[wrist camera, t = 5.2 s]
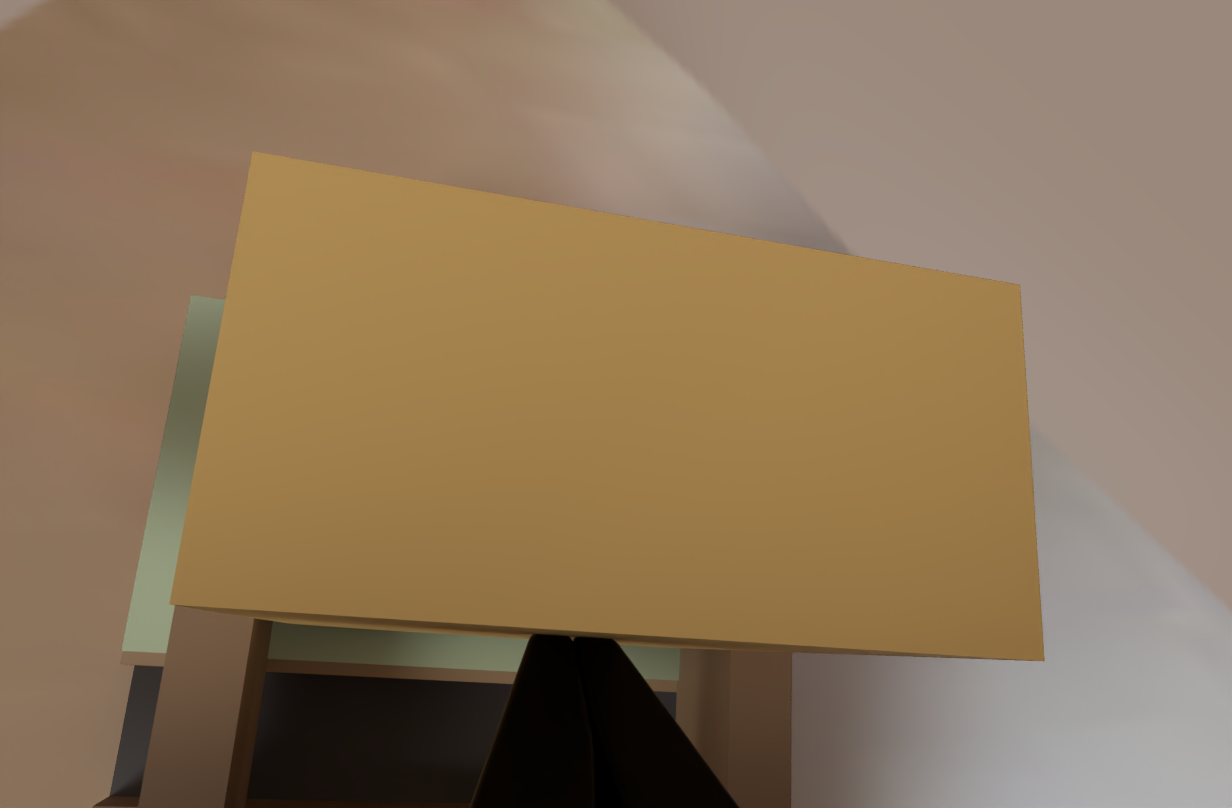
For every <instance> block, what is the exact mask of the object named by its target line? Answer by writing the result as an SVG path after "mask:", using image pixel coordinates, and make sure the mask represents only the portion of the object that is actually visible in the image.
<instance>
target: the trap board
mask: <svg viewBox="0 0 1232 808" xmlns="http://www.w3.org/2000/svg"><path fill="white" fill-rule="evenodd" d="M224 305H225V300H223V299H216V298H209V297H202V296H194V295H191V298H190V303H189V308H188V313H187V318H186V323H185V329H184V334H183V339H182V344H181V349H180V354H179V359H178V364H177V369H176V375H175V380H174V385H173V390H172V395H171V400H170V405H169V410H168V415H167V421H166V426H165V431H164V436H163V441H162V446H161V451H160V456H159V461H158V467H157V472H156V477H155V482H154V487H153V492H152V497H151V502H150V507H149V512H148V518H147V523H146V528H145V533H144V538H143V543H142V548H141V553H140V558H139V564H138V569H137V574H136V579H135V584H134V589H133V594H132V599H131V604H130V610H129V615H128V620H127V625H126V630H125V635H124V640H123V645H122V650H121V651H123V654H122V659H121V664H124V665H135V667H134V672H133V677H132V682H131V687H130V693H129V698H128V703H127V708H126V714H125V719H124V724H123V729H122V735H121V740H120V745H119V750H118V755H117V761H116V766H115V771H114V776H113V782H112V787H111V792H110V796H109V797H108V798H106V799H104V800H102V801H101V802H99V803H97V804H96V805H94V806H93V808H469V805H470V802H471V800H472V797H473V794H474V791H475V788H476V786H477V783H478V780H479V777H480V774H481V772H482V769H483V766H484V763H485V761H486V758H487V755H488V752H489V749H490V747H491V744H492V741H493V738H494V735H495V733H496V730H497V727H498V724H499V721H500V719H501V716H502V713H503V710H504V707H505V705H506V702H507V699H508V696H509V693H510V691H511V688H512V685H513V682H514V679H515V677H516V674H517V671H518V668H519V665H520V663H521V660H522V657H523V654H524V651H525V649H526V646H527V643H528V641H529V639H517V638H501V637H485V636H469V635H453V634H437V633H420V632H404V631H388V630H372V629H356V628H340V627H323V626H307V625H295V624H288V623H282V622H276V621H270V620H263V619H257V618H251V617H245V616H238V615H232V614H226V613H219V612H213V611H207V610H201V609H194V608H188V607H182V606H175V605H169V603H170V597H171V592H172V587H173V581H174V576H175V570H176V565H177V559H178V554H179V549H180V543H181V538H182V532H183V527H184V522H185V516H186V511H187V505H188V500H189V494H190V489H191V484H192V478H193V473H194V467H195V462H196V457H197V451H198V446H199V440H200V435H201V429H202V424H203V419H204V413H205V408H206V402H207V397H208V392H209V386H210V381H211V375H212V370H213V364H214V359H215V354H216V348H217V343H218V337H219V332H220V327H221V321H222V316H223V310H224ZM620 647H621V648H622V649H623V651H624V652H625V653H626V655H627V656H628V657H629V659H630V660H631V661H632V663H633V664H634V665H635V667H636V668H637V669H638V671H639V672H640V674H641V675H642V676H643V678H644V679H645V680H646V682H647V683H648V684H649V686H650V687H651V688H652V690H653V691H654V692H655V694H656V695H657V696H658V698H659V699H660V700H661V702H662V703H663V704H664V706H665V707H666V708H667V710H668V711H669V713H670V714H671V715H672V717H673V718H674V719H675V721H676V722H677V723H678V725H679V726H680V727H681V729H682V730H683V731H684V733H685V734H686V735H687V737H688V738H689V739H690V741H691V742H692V743H693V745H694V746H695V748H696V749H697V750H698V752H699V753H700V754H701V756H702V757H703V758H704V760H705V761H706V762H707V764H708V765H709V766H710V768H711V769H712V770H713V772H714V773H715V774H716V776H717V777H718V778H719V780H720V781H721V782H722V784H723V785H724V787H725V788H726V789H727V791H728V792H729V793H730V795H731V796H732V797H733V799H734V800H735V801H736V803H737V804H738V805H739V807H740V808H791V701H792V652H773V651H745V650H717V649H689V648H663V647H647V646H631V645H620Z"/></svg>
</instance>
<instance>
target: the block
mask: <svg viewBox="0 0 1232 808" xmlns="http://www.w3.org/2000/svg"><path fill="white" fill-rule="evenodd" d="M169 605H175V606H182V607H188V608H194V609H201V610H207V611H213V612H219V613H226V614H232V615H238V616H245V617H251V618H257V619H263V620H270V621H276V622H282V623H288V624H295V625H307V626H323V627H340V628H356V629H372V630H388V631H404V632H420V633H437V634H453V635H469V636H485V637H501V638H517V639H529V638H530V637H531V636H532V635H533V634H542V635H558V636H569V637H570V638H571V639H572V640H573V639H574V638H576V637H589V638H605V639H613V640H615V641H616V642H617V643H618V644H619V645H631V646H647V647H663V648H689V649H717V650H745V651H773V652H801V653H829V654H857V655H885V656H913V657H941V658H969V659H997V660H1025V661H1044V645H1043V630H1042V615H1041V599H1040V584H1039V569H1038V553H1037V538H1036V523H1035V507H1034V492H1033V477H1032V461H1031V446H1030V431H1029V417H1028V400H1027V385H1026V370H1025V355H1024V339H1023V324H1022V309H1021V295H1020V285H1018V284H1012V283H1007V282H1001V281H995V280H990V279H984V278H978V277H972V276H966V275H961V274H955V273H949V272H944V271H937V270H931V269H926V268H920V267H915V266H909V265H903V264H897V263H892V262H886V261H880V260H874V259H869V258H863V257H857V256H851V255H846V254H840V253H834V252H828V251H823V250H817V249H811V248H805V247H800V246H794V245H788V244H782V243H777V242H771V241H765V240H759V239H754V238H748V237H742V236H736V235H731V234H725V233H719V232H713V231H708V230H702V229H696V228H690V227H685V226H679V225H673V224H667V223H662V222H656V221H650V220H644V219H638V218H633V217H627V216H621V215H615V214H610V213H604V212H598V211H592V210H587V209H581V208H575V207H569V206H564V205H558V204H552V203H546V202H541V201H535V200H529V199H523V198H518V197H512V196H506V195H500V194H495V193H489V192H483V191H477V190H472V189H466V188H460V187H454V186H449V185H443V184H437V183H431V182H426V181H420V180H414V179H408V178H403V177H397V176H391V175H385V174H380V173H374V172H368V171H362V170H357V169H351V168H345V167H339V166H333V165H328V164H322V163H316V162H310V161H305V160H299V159H293V158H287V157H282V156H276V155H270V154H264V153H259V152H253V153H252V159H251V164H250V169H249V175H248V180H247V186H246V191H245V197H244V202H243V207H242V213H241V218H240V224H239V229H238V234H237V240H236V245H235V251H234V256H233V262H232V267H231V272H230V278H229V283H228V289H227V294H226V299H225V305H224V310H223V316H222V321H221V327H220V332H219V337H218V343H217V348H216V354H215V359H214V364H213V370H212V375H211V381H210V386H209V392H208V397H207V402H206V408H205V413H204V419H203V424H202V429H201V435H200V440H199V446H198V451H197V457H196V462H195V467H194V473H193V478H192V484H191V489H190V494H189V500H188V505H187V511H186V516H185V522H184V527H183V532H182V538H181V543H180V549H179V554H178V559H177V565H176V570H175V576H174V581H173V587H172V592H171V597H170V603H169Z"/></svg>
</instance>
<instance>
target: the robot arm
mask: <svg viewBox="0 0 1232 808" xmlns="http://www.w3.org/2000/svg"><path fill="white" fill-rule="evenodd" d="M469 808H740V807H739V805H738V804H737V803H736V801H735V800H734V799H733V797H732V796H731V795H730V793H729V792H728V791H727V789H726V788H725V787H724V785H723V784H722V782H721V781H720V780H719V778H718V777H717V776H716V774H715V773H714V772H713V770H712V769H711V768H710V766H709V765H708V764H707V762H706V761H705V760H704V758H703V757H702V756H701V754H700V753H699V752H698V750H697V749H696V748H695V746H694V745H693V743H692V742H691V741H690V739H689V738H688V737H687V735H686V734H685V733H684V731H683V730H682V729H681V727H680V726H679V725H678V723H677V722H676V721H675V719H674V718H673V717H672V715H671V714H670V713H669V711H668V710H667V708H666V707H665V706H664V704H663V703H662V702H661V700H660V699H659V698H658V696H657V695H656V694H655V692H654V691H653V690H652V688H651V687H650V686H649V684H648V683H647V682H646V680H645V679H644V678H643V676H642V675H641V674H640V672H639V671H638V669H637V668H636V667H635V665H634V664H633V663H632V661H631V660H630V659H629V657H628V656H627V655H626V653H625V652H624V651H623V649H622V648H621V647H620V645H619V644H618V643H617V642H616V641H615V640H613V639H605V638H589V637H576V638H574V639H573V640H572V639H571V638H570V637H569V636H558V635H542V634H533V635H532V636H531V637H530V638H529V641H528V643H527V646H526V649H525V651H524V654H523V657H522V660H521V663H520V665H519V668H518V671H517V674H516V677H515V679H514V682H513V685H512V688H511V691H510V693H509V696H508V699H507V702H506V705H505V707H504V710H503V713H502V716H501V719H500V721H499V724H498V727H497V730H496V733H495V735H494V738H493V741H492V744H491V747H490V749H489V752H488V755H487V758H486V761H485V763H484V766H483V769H482V772H481V774H480V777H479V780H478V783H477V786H476V788H475V791H474V794H473V797H472V800H471V802H470V805H469Z"/></svg>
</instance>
